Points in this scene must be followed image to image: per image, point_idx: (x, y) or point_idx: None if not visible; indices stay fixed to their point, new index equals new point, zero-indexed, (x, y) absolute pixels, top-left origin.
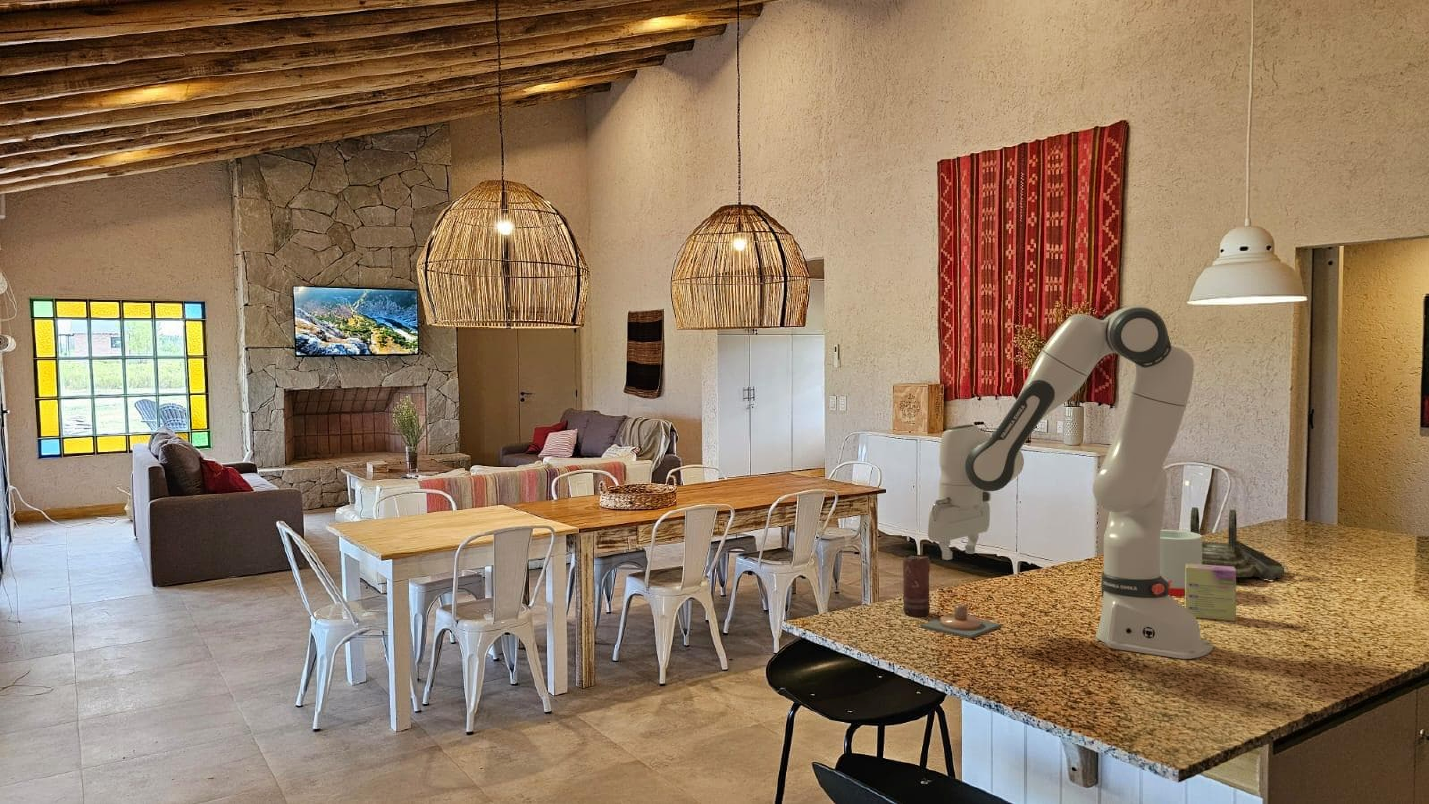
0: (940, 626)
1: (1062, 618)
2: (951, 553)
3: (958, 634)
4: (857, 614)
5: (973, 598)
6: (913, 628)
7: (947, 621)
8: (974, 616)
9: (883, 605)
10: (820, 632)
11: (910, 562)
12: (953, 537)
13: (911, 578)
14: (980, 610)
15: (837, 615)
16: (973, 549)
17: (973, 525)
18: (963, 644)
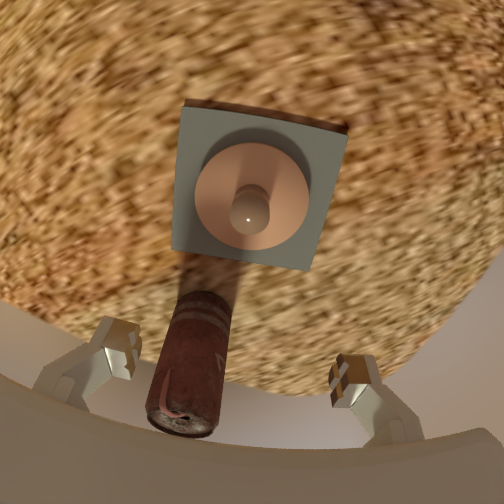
0: (300, 230)
1: (35, 42)
2: (357, 376)
3: (338, 169)
4: (274, 374)
5: (32, 262)
6: (321, 276)
7: (295, 221)
8: (199, 181)
9: None
10: (401, 365)
11: (218, 420)
12: (405, 454)
13: (222, 381)
14: (83, 215)
15: (296, 388)
16: (114, 333)
17: (96, 487)
18: (401, 136)
